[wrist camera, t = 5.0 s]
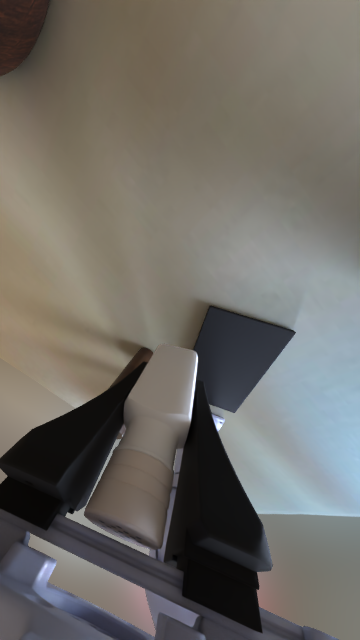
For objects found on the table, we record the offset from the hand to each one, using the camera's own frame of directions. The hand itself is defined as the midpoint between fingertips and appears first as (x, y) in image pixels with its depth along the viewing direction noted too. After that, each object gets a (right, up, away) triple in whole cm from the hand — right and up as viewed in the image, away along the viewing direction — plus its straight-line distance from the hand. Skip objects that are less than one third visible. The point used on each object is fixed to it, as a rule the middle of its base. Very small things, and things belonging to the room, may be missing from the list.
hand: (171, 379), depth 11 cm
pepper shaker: (0, +1, +2) cm, 3 cm away
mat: (+8, -2, +10) cm, 13 cm away
